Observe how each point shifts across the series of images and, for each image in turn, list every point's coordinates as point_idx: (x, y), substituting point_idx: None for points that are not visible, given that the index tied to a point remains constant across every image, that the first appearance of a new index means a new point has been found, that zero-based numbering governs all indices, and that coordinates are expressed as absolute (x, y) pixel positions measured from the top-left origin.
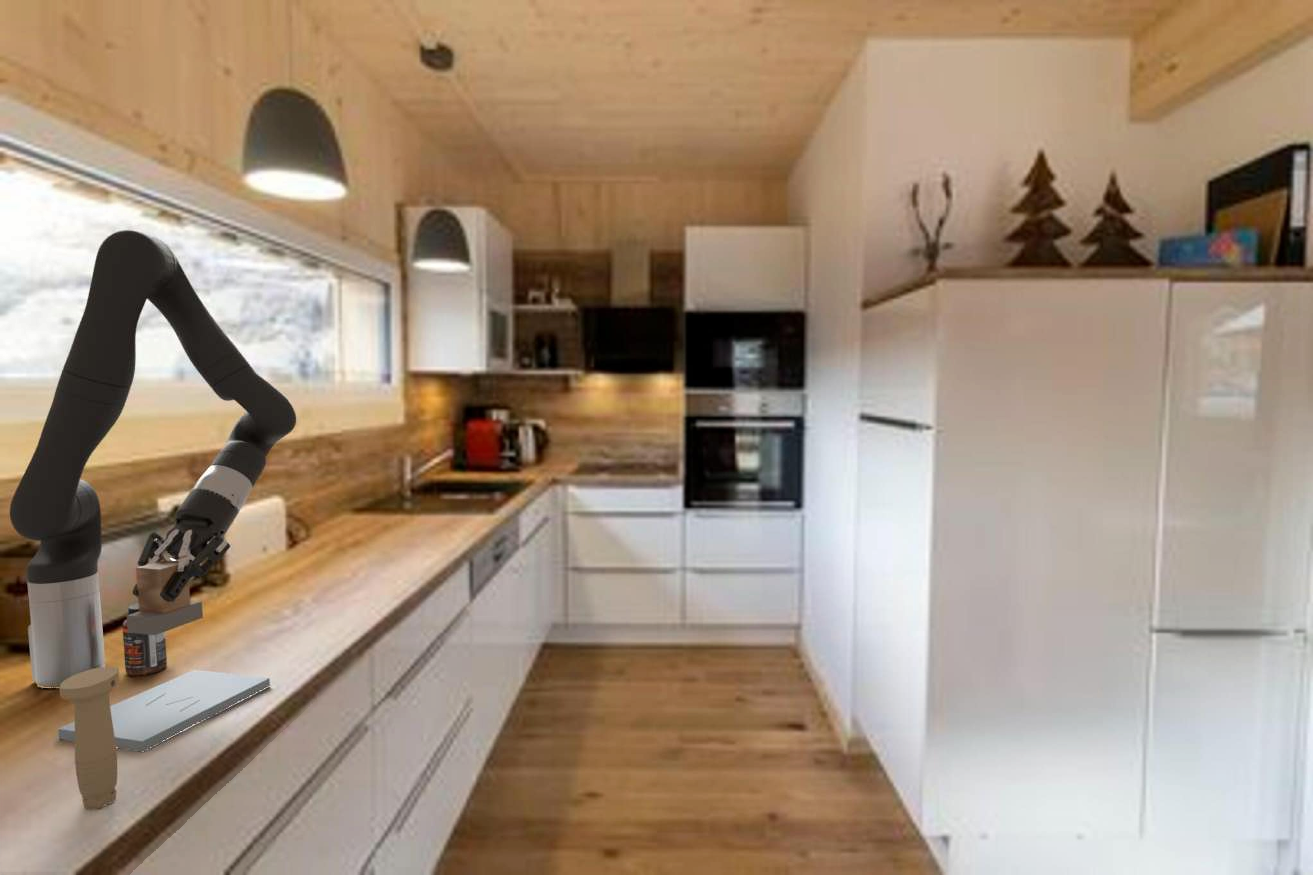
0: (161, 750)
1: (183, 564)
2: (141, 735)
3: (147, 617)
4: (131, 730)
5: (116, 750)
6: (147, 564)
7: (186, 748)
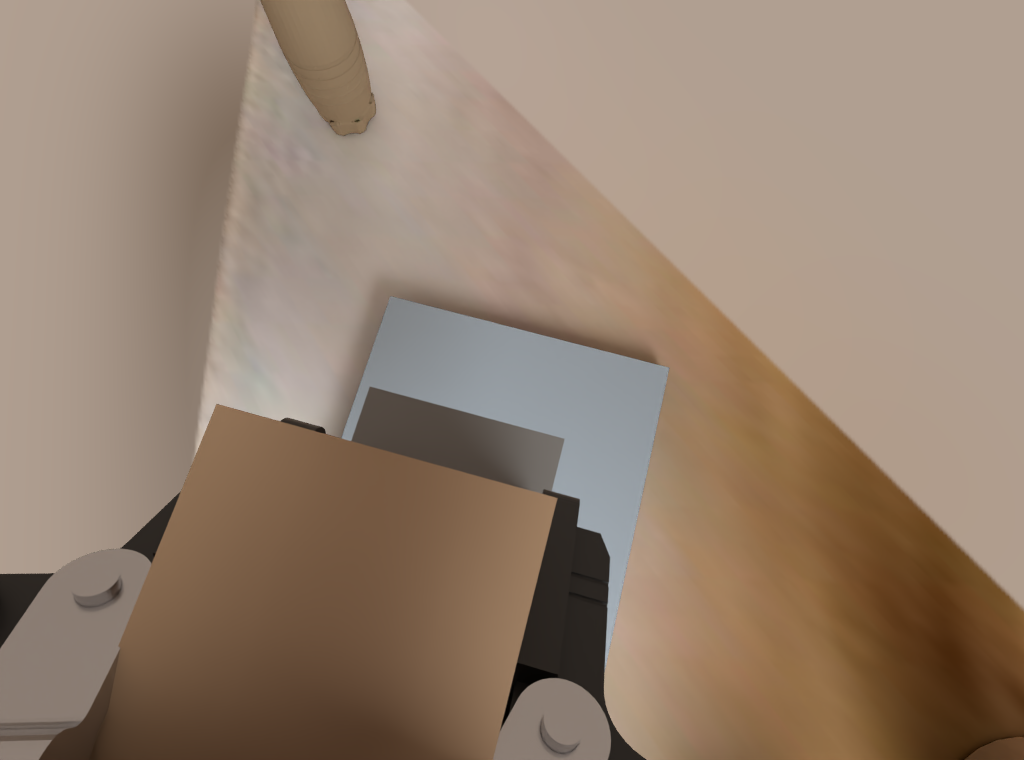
0: (358, 315)
1: (41, 621)
2: (414, 326)
3: (415, 399)
4: (459, 353)
5: (289, 61)
6: (572, 736)
7: (303, 324)
